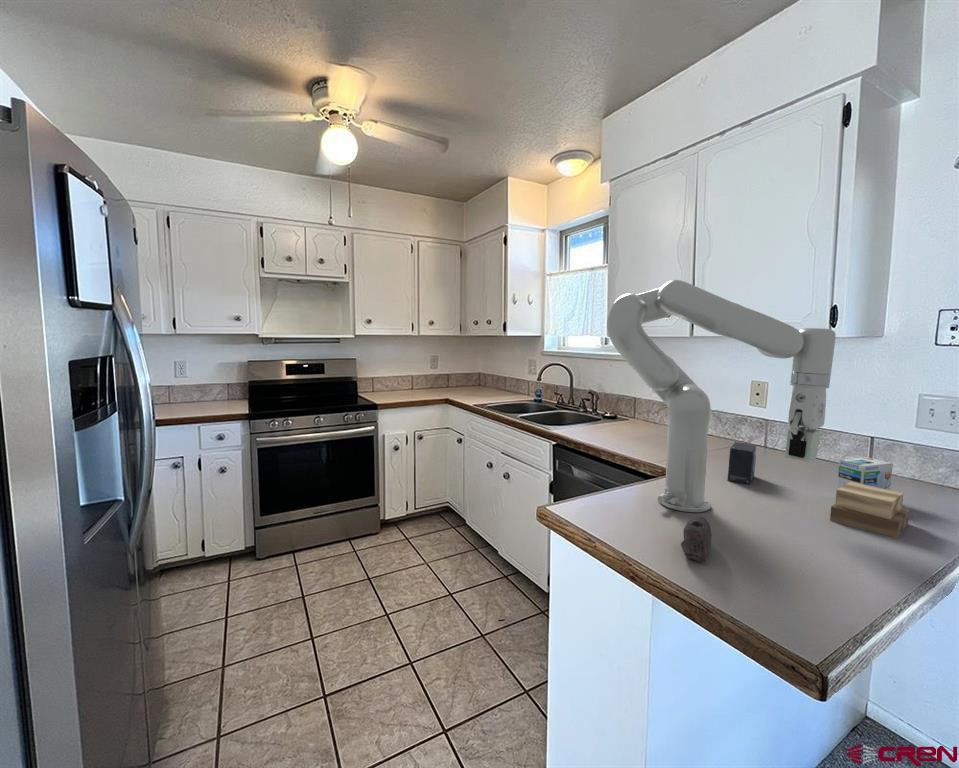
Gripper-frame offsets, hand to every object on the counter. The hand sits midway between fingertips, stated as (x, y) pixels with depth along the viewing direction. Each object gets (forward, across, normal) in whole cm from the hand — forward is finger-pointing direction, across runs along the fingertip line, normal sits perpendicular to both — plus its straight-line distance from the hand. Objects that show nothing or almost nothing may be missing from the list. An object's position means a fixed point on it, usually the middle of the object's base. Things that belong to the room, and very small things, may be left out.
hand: (800, 453), depth 108 cm
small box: (+17, +22, +21) cm, 34 cm away
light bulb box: (+15, +29, -7) cm, 33 cm away
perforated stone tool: (+17, -36, +6) cm, 40 cm away
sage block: (+1, 0, 0) cm, 1 cm away
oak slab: (+12, +11, -12) cm, 20 cm away
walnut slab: (+16, +11, -12) cm, 23 cm away
